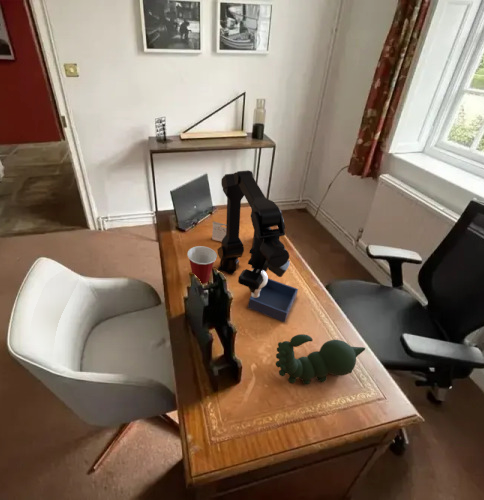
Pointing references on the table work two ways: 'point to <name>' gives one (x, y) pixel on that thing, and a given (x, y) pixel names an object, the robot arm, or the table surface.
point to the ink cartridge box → (218, 231)
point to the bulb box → (274, 300)
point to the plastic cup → (202, 262)
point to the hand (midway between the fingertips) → (256, 286)
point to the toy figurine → (316, 359)
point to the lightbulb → (257, 291)
